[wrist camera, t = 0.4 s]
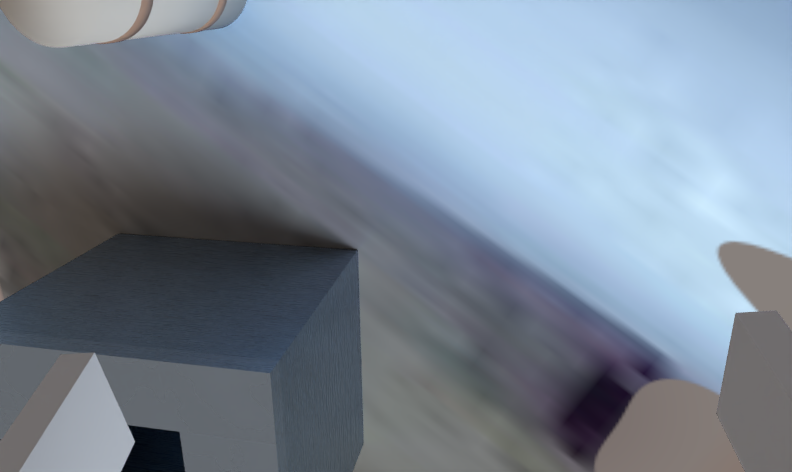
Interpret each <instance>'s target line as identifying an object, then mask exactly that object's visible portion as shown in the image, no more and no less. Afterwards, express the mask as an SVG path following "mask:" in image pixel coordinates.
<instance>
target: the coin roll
mask: <svg viewBox="0 0 792 472" xmlns="http://www.w3.org/2000/svg"><path fill="white" fill-rule="evenodd" d="M246 1H247V0H0V7H1V9H2V11H3V13H4V14H5V16H6V17H7V19H8V20H9V21H10V23H11V24H12V25H13V26H14V27H15V28H16V29H17V30H18V31H19V32H20V33H21V34H23V35H24V36H25V37H27V38H28V39H30V40H32V41H34V42H35V43H38V44H40V45H43V46H47V47H54V48H62V47H71V46H79V45H88V44H106V43H114V42H120V41H124V40H129V39H137V38H145V37H153V36H162V35H170V34H178V33H180V34H186V33H195V32H200V31H203V30H211V29H219V28H223V27H225V26H228V25H229V24H231V23H233V22H234V21H235V20H236V19H237V18H238V17H239V16H240V14H241V13H242V11H243V9H244V7H245V4H246Z"/></svg>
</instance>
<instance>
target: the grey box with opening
mask: <svg viewBox="0 0 792 472" xmlns="http://www.w3.org/2000/svg"><path fill="white" fill-rule="evenodd" d="M93 352H95V354H96V357H97V359H98V361H99V363H100V365H101V368H102V370H103V372H104V374H105V377H106V379H107V381H108V383H109V385H110V388H111V390H112V392H113V394H114V396H115V399H116V401H117V403H118V405H119V407H120V410H121V412H122V414H123V416H124V418H125V421H126V423H127V425H128V427H129V429H130V432H131V434H132V436H133V438H134V440H135V443H134V445H133V447H132V449H131V452H130V454H129V456H128V458H127V460H126V462H125V464H124V466H123V468H122V470H121V472H352V471H353V469H354V466H355V464H356V461H357V459H358V456H359V454H360V451H361V449H362V446H363V411H362V377H361V344H360V311H359V278H358V250H348V249H333V248H319V247H304V246H290V245H275V244H261V243H246V242H232V241H217V240H203V239H188V238H174V237H159V236H145V235H130V234H117V235H115V236H114V237H112V238H110V239H108V240H107V241H105V242H103V243H102V244H100V245H98V246H96V247H95V248H93V249H91V250H89V251H88V252H86V253H84V254H82V255H81V256H79V257H77V258H75V259H74V260H72V261H70V262H69V263H67V264H65V265H63V266H62V267H60V268H58V269H56V270H55V271H53V272H51V273H49V274H48V275H46V276H44V277H42V278H41V279H39V280H37V281H36V282H34V283H32V284H30V285H29V286H27V287H25V288H23V289H22V290H20V291H18V292H16V293H15V294H13V295H11V296H9V297H8V298H6V299H4V300H3V301H1V302H0V441H1V439H2V438H3V437H4V435H5V434H6V432H7V431H8V429H9V428H10V426H11V425H12V424H13V422H14V421H15V419H16V418H17V416H18V415H19V414H20V412H21V411H22V409H23V408H24V406H25V405H26V403H27V402H28V401H29V399H30V398H31V396H32V395H33V393H34V392H35V391H36V389H37V388H38V386H39V385H40V383H41V382H42V380H43V379H44V378H45V376H46V375H47V373H48V372H49V370H50V369H51V367H52V366H53V365H54V363H55V362H56V360H57V359H58V357H59V356H60V355H61V354H77V353H93Z"/></svg>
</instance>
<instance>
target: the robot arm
mask: <svg viewBox="0 0 792 472" xmlns="http://www.w3.org/2000/svg"><path fill="white" fill-rule="evenodd" d="M716 414H717V416H718V418H719V420H720V422H721V424H722V426H723V428H724V430H725V432H726V434H727V436H728V438H729V441H730V443H731V444H732V447H733V449H734V451H735V453H736V455H737V457H738V459H739V461H740V463H741V465H742V467H743V469H744V471H745V472H792V331H791V330H790V328H789V327H788V325H787V324H786V323H785V321H784V320H783V319H782V317H781V316H780V314H779V313H778V312H777V311H761V312H745V313H736V314H735V319H734V324H733V329H732V335H731V340H730V345H729V350H728V356H727V361H726V366H725V371H724V376H723V382H722V387H721V392H720V397H719V403H718V408H717V413H716ZM134 443H135V440H134V438H133V436H132V434H131V432H130V429H129V427H128V425H127V423H126V421H125V418H124V416H123V414H122V412H121V410H120V407H119V405H118V403H117V401H116V399H115V396H114V394H113V392H112V390H111V388H110V385H109V383H108V381H107V379H106V377H105V374H104V372H103V370H102V368H101V365H100V363H99V361H98V359H97V357H96V354H95V352H93V353H77V354H61V355H60V356H59V357H58V359H57V360H56V362H55V363H54V365H53V366H52V367H51V369H50V370H49V372H48V373H47V375H46V376H45V378H44V379H43V380H42V382H41V383H40V385H39V386H38V388H37V389H36V391H35V392H34V393H33V395H32V396H31V398H30V399H29V401H28V402H27V403H26V405H25V406H24V408H23V409H22V411H21V412H20V414H19V415H18V416H17V418H16V419H15V421H14V422H13V424H12V425H11V426H10V428H9V429H8V431H7V432H6V434H5V435H4V437H3V438H2V439H1V441H0V472H121V470H122V468H123V466H124V464H125V462H126V460H127V458H128V456H129V454H130V452H131V449H132V447H133V445H134Z"/></svg>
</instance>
